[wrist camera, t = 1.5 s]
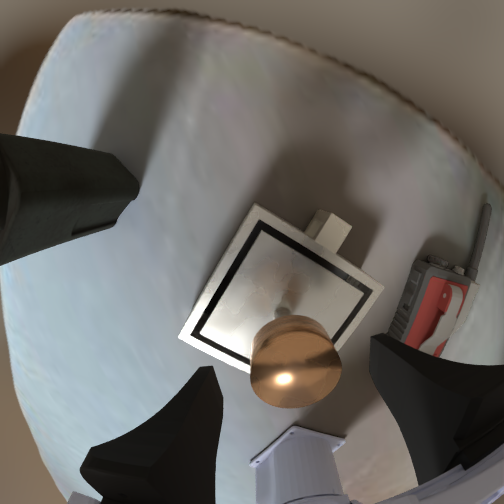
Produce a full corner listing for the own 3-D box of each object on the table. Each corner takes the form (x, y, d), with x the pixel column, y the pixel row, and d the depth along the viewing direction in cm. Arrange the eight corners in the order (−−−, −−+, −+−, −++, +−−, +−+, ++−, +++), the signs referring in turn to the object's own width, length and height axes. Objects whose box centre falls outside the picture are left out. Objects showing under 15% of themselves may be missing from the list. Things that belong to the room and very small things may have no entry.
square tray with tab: (293, 362, 23) (300, 394, 18) (191, 310, 22) (178, 337, 17) (373, 248, 21) (400, 261, 16) (268, 178, 20) (273, 174, 15)
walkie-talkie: (423, 376, 24) (485, 205, 20) (441, 398, 20) (514, 210, 16) (363, 374, 24) (430, 175, 20) (378, 402, 19) (461, 174, 15)
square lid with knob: (296, 375, 19) (311, 445, 12) (201, 329, 18) (177, 396, 11) (360, 290, 17) (410, 340, 10) (261, 229, 16) (268, 255, 10)
